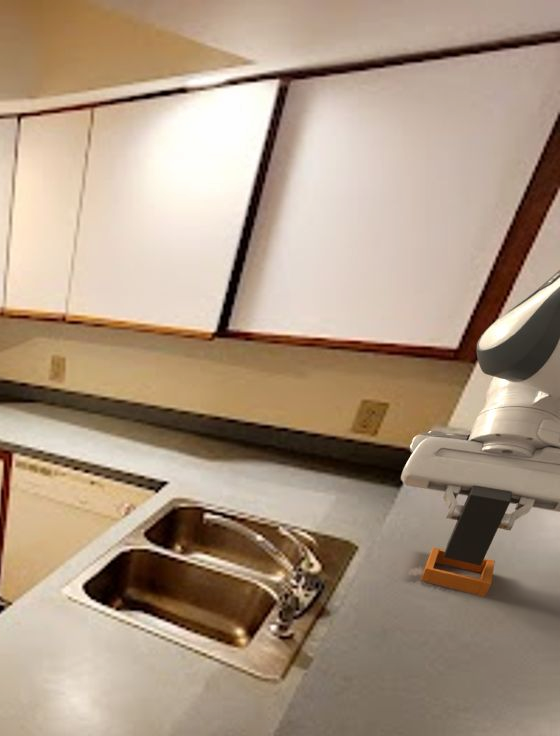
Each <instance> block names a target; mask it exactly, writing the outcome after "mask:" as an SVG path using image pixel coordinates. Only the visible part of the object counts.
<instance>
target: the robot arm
mask: <svg viewBox="0 0 560 736" xmlns="http://www.w3.org/2000/svg"><path fill="white" fill-rule="evenodd" d="M476 358H477V362H478V365H479V367H480V370H481V372H482V373H483V374H485V375H488V376H491V377H493V378H491V382H490V384H489V386H488V388H487V391H486V393H485V397H484V407H483V408H482V410H480V412H479V413H478V414H477V416H476V418H475V420H474V423H473V425H472V428H471V431H470V433H469V434H466V433H457V432H443V431H439V430H429V432H428V431H427V432H422V433H419V434H417V435H416V436H414V437H413V439H412V441H411V444H410V447H409V450H410V453H411V454H410V457H409V458H408V460H407V461H406V464H405V465H404V467H403V468H402V469H403V470H402V472H401V475H400V481H401V482H402V483H403V484H404V485H405V486H409V487H413V488H420V489H426V490H431V491H437V492H442V493H444V494H443V497H442V498H443V500H444V502H445V505H446V507H447V509H448V511H447V514H446V515H445V519H448V520H453V521H457V520H459V518H460V516H461V514H462V511H463V509H464V505H461V504H459V503H458V502H457V498H458V495H461V496H465V497H468V495H469V493H470V490H471V488H472V486H473V485H475V486H481V487H487V488H493V489H499V490H505V491H511V492H512V494H511V501H510V504H512V505H515V507H514V511H513V512H512V513H506V512H505V514H504V517H503V519H502V521H501V523H500V525H499V527H498V529H499V530H505V531H511V530H512V528H513V527H514V525H515V522H516V521H517V520H519V519H521V518H522V517H524V516H525V515H528V514H529V512H530V511H531V509H532V508H535V509H540V510H547V511H553V512H558V513H560V269H559V270H558V271H556V272H555V273H554V274H553V275H552V276H551V277H550V278H549V279H548V280H546V281H545V282H544V283H543V284H542V285H541V286H539V287H538V288H537V289H536V290H534V291H533V292H532V293H531V294H530V295H529V296H527V297H526V298H524V299H523V300H522V301H520V302H519V303H517V304H516V305H514V306H513V307H512V308H511V309H509V310H508V311H507V312H505V313H504V314H502V315H501V316H500V317H499V318H497V319H496V320H495V321H494V322H493V323H492V324H491V325H490V326H489V327H488V328H487V329H486V330H484V332H483V333H482V334H481V335H480V337H479V339H478V341H477V343H476Z"/></svg>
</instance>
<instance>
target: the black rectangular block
mask: <svg viewBox="0 0 560 736" xmlns="http://www.w3.org/2000/svg"><path fill="white" fill-rule="evenodd" d="M511 494H512V492H511V491H505V490H499V489H493V488H487V487H481V486H475V485H473V486H472V488H471V490H470V493H469V495H468V496H466V497H467V498H466V500H465V502H464V505H463V506H464V509H463V511H462V514H461V516H460V518H459V520H456V523H455V525H454V527H453V530H452V532H451V535H450V536H449V540H448V542H447V544H446V547H445V549H444V550H445V554H444V557H445V558H449V559H454V560H458V561H463V562H467V563H471V564H476V565H481V564H482V562H483V560H484V559H485V557H486V555H487V554H488V551H489V549H490V547H491V544H492V542H493V540H494V538H495V536H496V534H497V532H498V529H499V528H498V527H499V525H500V523H501V521H502V519H503V517H504V514H505V513H506V512H507V510H508V508H509V506H510V504H511V503H510V501H511Z"/></svg>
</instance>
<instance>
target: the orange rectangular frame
mask: <svg viewBox="0 0 560 736" xmlns="http://www.w3.org/2000/svg"><path fill="white" fill-rule="evenodd" d="M445 550H446V549H442V548H437V547H432V549H431V551H430V554H429V557H428V558H427V561H426V564H425V567H424V570H423V572H422V575H421V579H420V582H425V583H429V584H433V585H437V586H441V587H445V588H449V589H453V590H457V591H461V592H465V593H470V594H474V595H478V596H482V597H486V595H487V593H488V591H489V588H490V587H491V585H492V579H493V575H494V570H495V569H494V568H495V563H496V561H495V560H493V559H489V558H488V559H487V558H484V560H483V562H482V564H481V565H476V564H471V563H467V562H463V561H458V560H454V559H449V558H445V557H444V554H445ZM436 564H439V565H445V566H448V567H449V566H450V567H454V568H458V569H462V570H467V571H472V572H475V573H479V574H481V575H480V578H477V577H473V576H469V575H463V574H459V573H456V572H451V571H447V570H443V569H438V568H435V565H436Z"/></svg>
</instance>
